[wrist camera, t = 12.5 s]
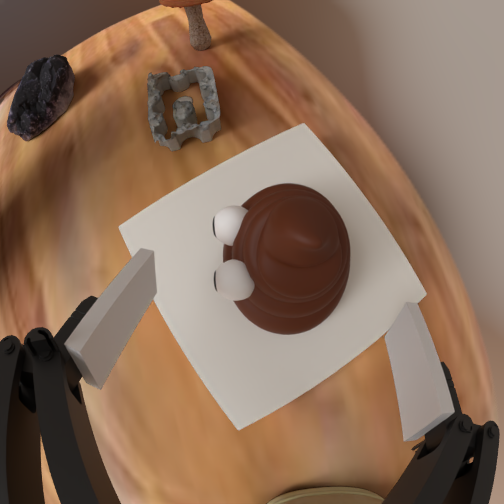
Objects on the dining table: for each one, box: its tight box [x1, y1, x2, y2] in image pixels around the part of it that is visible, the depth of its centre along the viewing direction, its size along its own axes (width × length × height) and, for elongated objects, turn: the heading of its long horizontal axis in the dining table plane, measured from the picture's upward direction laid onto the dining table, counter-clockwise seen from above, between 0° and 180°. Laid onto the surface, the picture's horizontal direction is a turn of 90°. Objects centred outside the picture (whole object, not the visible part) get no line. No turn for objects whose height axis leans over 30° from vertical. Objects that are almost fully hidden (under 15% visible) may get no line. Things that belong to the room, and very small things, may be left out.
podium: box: [118, 123, 427, 430], centre depth 21 cm, size 19×19×4 cm
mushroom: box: [159, 0, 212, 51], centre depth 23 cm, size 8×8×15 cm
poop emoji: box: [212, 183, 351, 335], centre depth 15 cm, size 10×8×9 cm
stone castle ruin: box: [147, 66, 221, 151], centre depth 25 cm, size 11×8×4 cm
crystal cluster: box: [7, 55, 75, 141], centre depth 24 cm, size 13×14×10 cm
